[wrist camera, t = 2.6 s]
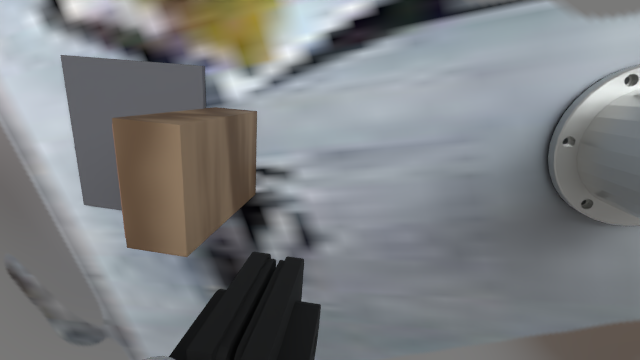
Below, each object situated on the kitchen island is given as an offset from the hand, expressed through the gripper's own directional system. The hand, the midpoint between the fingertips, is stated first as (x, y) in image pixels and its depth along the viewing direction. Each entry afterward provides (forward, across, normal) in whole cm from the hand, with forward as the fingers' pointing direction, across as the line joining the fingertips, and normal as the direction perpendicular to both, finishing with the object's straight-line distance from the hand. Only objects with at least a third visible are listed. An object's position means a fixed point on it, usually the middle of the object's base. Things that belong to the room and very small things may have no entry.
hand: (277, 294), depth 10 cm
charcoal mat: (+19, +19, 0) cm, 27 cm away
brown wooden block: (+19, +9, 0) cm, 21 cm away
